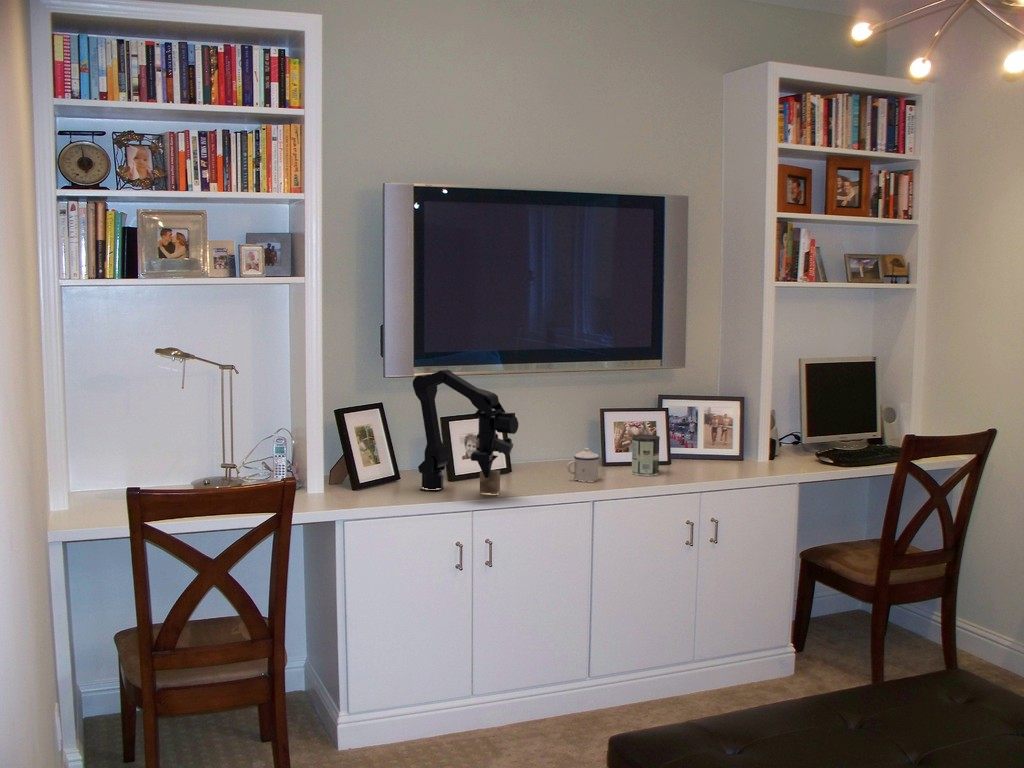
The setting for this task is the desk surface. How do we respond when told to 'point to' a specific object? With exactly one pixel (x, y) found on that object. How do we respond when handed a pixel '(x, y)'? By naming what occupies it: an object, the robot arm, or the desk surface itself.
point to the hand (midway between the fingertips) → (486, 477)
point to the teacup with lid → (585, 466)
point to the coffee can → (645, 455)
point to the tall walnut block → (490, 482)
